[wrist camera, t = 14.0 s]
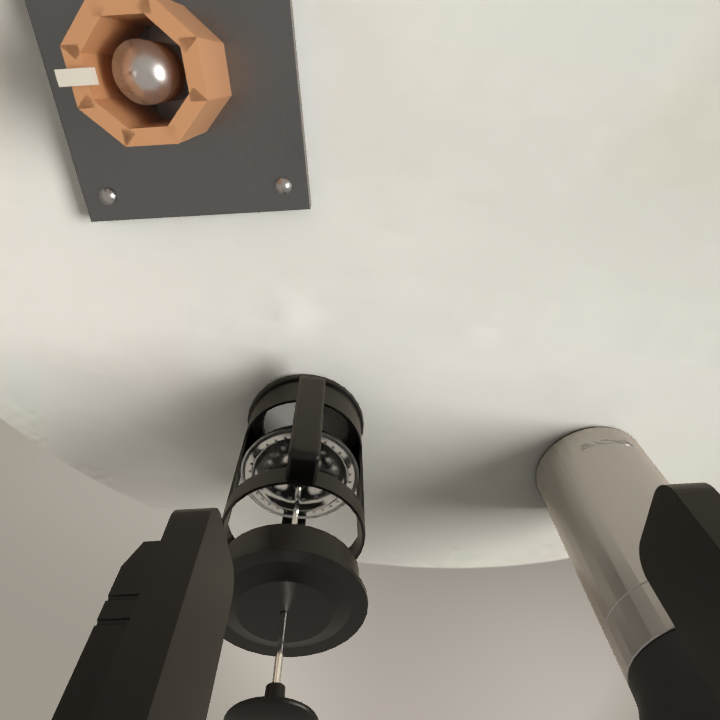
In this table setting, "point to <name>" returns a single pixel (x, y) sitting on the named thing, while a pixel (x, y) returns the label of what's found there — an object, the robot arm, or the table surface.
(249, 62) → the plate
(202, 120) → the octagonal hollow tube
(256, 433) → the french press
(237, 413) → the table surface
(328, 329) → the table surface
